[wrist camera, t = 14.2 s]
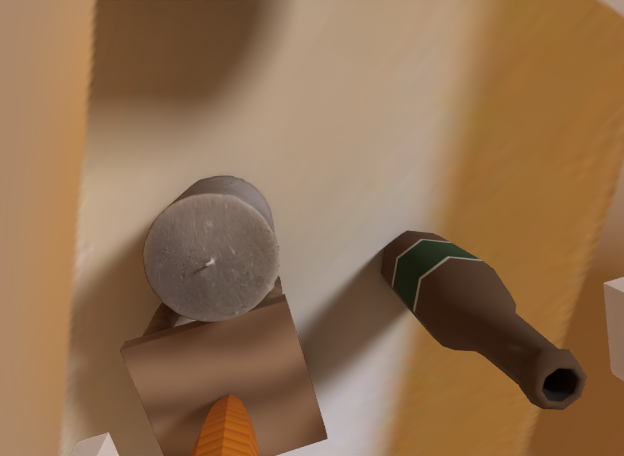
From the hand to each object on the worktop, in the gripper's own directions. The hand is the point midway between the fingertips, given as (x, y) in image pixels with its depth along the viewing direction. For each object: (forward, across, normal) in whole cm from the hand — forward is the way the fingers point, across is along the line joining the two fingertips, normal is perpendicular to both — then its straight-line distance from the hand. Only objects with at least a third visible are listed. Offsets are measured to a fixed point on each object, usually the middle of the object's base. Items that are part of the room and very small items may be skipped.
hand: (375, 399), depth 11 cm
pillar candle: (+34, -7, -1) cm, 35 cm away
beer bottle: (+34, +11, -11) cm, 38 cm away
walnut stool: (+34, -10, -14) cm, 38 cm away
